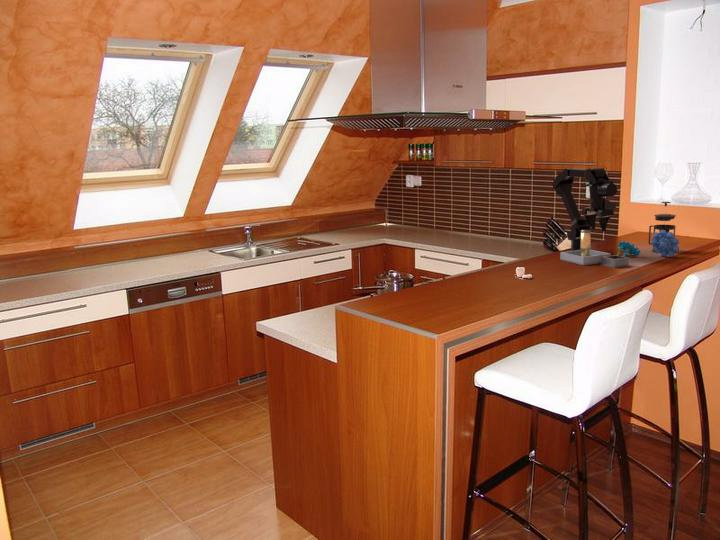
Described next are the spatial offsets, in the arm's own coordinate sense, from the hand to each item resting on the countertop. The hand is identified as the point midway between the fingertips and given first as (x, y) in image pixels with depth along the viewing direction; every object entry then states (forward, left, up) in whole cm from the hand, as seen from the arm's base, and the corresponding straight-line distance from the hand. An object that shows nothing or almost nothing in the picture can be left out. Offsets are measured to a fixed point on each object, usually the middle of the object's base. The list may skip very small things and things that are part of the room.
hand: (598, 230), depth 275 cm
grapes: (+17, +21, -12) cm, 30 cm away
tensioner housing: (+20, -9, -12) cm, 25 cm away
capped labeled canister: (+5, -12, -11) cm, 17 cm away
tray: (+5, -12, -12) cm, 18 cm away
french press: (+7, +31, -12) cm, 34 cm away
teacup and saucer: (+19, -57, -13) cm, 61 cm away
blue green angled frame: (+8, +10, -12) cm, 18 cm away
